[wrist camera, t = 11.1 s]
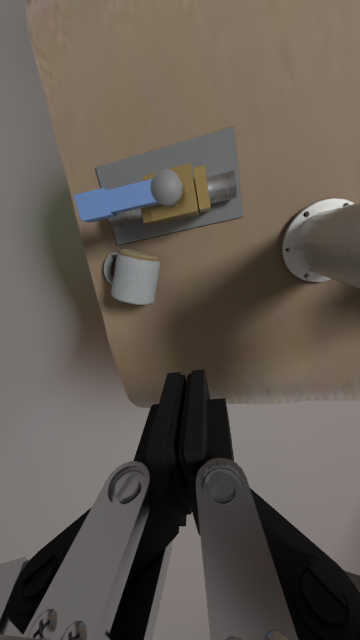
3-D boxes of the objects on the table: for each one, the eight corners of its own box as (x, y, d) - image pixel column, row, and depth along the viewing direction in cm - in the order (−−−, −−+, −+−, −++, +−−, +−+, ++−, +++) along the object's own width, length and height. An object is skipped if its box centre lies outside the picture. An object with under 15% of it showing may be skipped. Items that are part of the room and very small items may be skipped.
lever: (82, 195, 29) (72, 192, 27) (180, 171, 27) (178, 165, 25) (91, 224, 30) (82, 223, 28) (185, 203, 28) (183, 200, 26)
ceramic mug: (165, 254, 39) (155, 258, 32) (158, 297, 42) (147, 310, 35) (108, 242, 40) (86, 243, 32) (106, 286, 43) (85, 295, 36)
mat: (233, 127, 32) (233, 126, 31) (242, 216, 36) (242, 216, 35) (96, 168, 35) (95, 167, 35) (118, 244, 39) (117, 244, 39)
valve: (230, 166, 33) (238, 145, 25) (235, 206, 35) (243, 198, 27) (110, 198, 36) (84, 188, 29) (119, 233, 38) (98, 233, 31)
